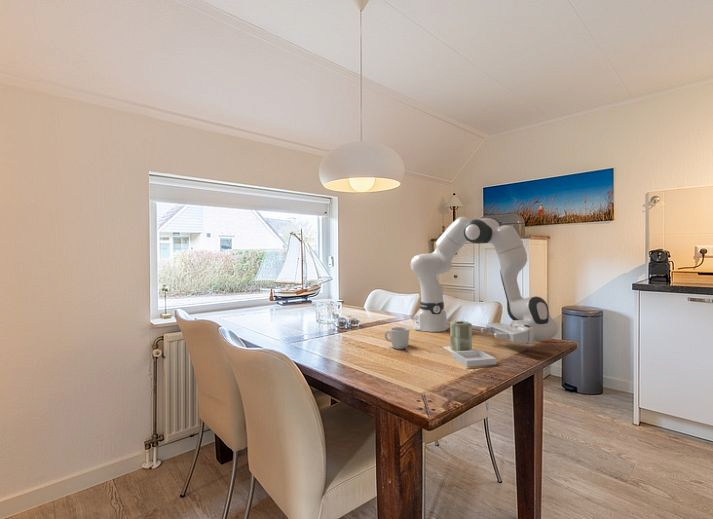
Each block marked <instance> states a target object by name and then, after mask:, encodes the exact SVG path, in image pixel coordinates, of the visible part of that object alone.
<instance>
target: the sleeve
mask: <svg viewBox="0 0 713 519" xmlns="http://www.w3.org/2000/svg"><path fill="white" fill-rule="evenodd" d="M449 322H450V323H449V324H450V325H449V327H450V328H449V329H450V331H449V332H450V333H449V335H450V337H449V339H450V347H451V349H452V350H453V351H455V352H457V351H470V350H472V349H473V344H472V342H473V338H472V336H473V335H472V334H473V331H472V330H473V328H472V327H473V324H472V323H471V322H468V321H466V320H457V321H453V320H452V321H449Z"/></svg>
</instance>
